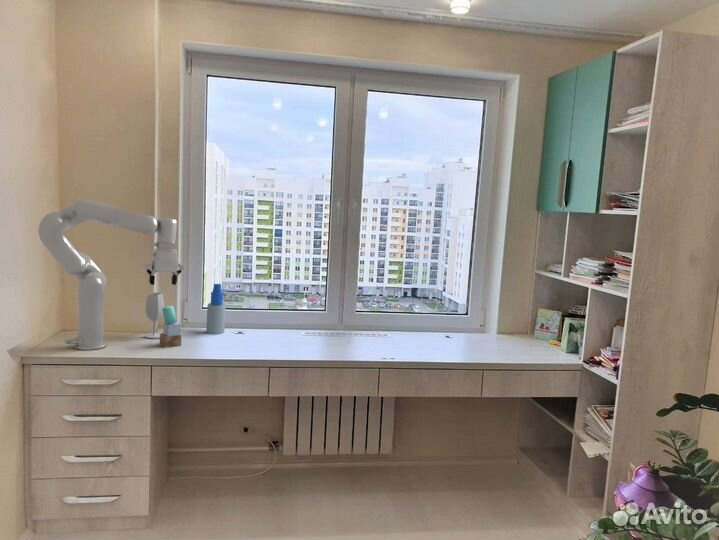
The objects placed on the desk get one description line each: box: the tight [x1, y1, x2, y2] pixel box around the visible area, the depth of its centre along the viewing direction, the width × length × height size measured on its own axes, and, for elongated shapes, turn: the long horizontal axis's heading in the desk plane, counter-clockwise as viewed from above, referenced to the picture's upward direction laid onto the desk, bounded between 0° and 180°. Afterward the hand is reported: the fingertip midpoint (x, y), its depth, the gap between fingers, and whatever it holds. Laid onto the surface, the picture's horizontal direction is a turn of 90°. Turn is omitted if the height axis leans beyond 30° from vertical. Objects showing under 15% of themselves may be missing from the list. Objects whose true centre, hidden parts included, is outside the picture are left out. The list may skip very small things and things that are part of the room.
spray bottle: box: [205, 283, 226, 335], centre depth 258 cm, size 9×9×25 cm
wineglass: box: [143, 292, 165, 340], centre depth 240 cm, size 9×9×21 cm
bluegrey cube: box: [162, 321, 182, 336], centre depth 229 cm, size 6×6×5 cm
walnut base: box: [159, 332, 182, 348], centre depth 229 cm, size 7×7×5 cm
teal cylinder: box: [162, 305, 178, 324], centre depth 227 cm, size 5×5×7 cm
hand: (163, 284), depth 225 cm, fingers open, 9 cm apart
